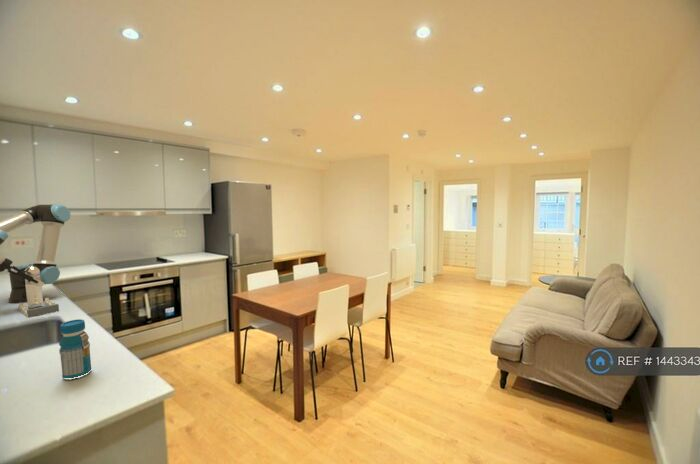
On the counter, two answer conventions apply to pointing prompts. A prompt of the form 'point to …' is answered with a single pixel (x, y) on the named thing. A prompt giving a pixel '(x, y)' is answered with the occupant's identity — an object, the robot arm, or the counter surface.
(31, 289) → the water bottle
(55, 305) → the block
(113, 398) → the counter surface
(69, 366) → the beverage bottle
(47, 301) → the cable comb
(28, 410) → the counter surface
